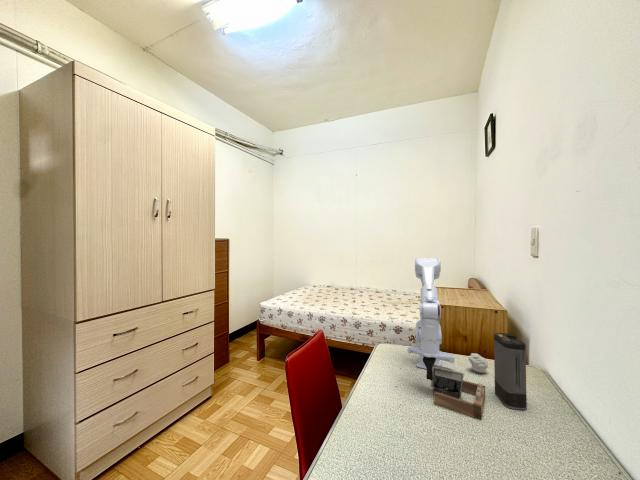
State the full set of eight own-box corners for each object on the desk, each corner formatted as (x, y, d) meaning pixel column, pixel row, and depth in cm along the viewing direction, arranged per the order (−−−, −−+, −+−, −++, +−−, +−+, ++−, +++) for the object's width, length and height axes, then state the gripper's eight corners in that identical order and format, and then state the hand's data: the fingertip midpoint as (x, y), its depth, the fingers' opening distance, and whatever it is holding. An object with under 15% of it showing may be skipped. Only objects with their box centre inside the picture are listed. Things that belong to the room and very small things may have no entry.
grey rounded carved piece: (465, 368, 105) (464, 350, 105) (482, 368, 104) (482, 350, 104) (473, 375, 99) (473, 357, 99) (492, 376, 98) (492, 357, 98)
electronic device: (529, 411, 77) (528, 343, 78) (506, 408, 79) (505, 342, 79) (512, 393, 87) (511, 333, 87) (492, 391, 88) (492, 332, 88)
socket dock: (443, 384, 92) (443, 369, 92) (485, 396, 85) (485, 379, 85) (434, 404, 81) (434, 386, 81) (481, 420, 74) (481, 400, 74)
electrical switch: (461, 394, 86) (463, 368, 85) (462, 405, 82) (465, 377, 80) (430, 386, 90) (432, 361, 89) (430, 396, 85) (432, 370, 84)
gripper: (404, 336, 89) (404, 376, 89) (451, 346, 81) (451, 391, 80) (411, 331, 95) (411, 369, 95) (455, 340, 86) (455, 381, 86)
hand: (430, 378), depth 88 cm, fingers closed, pressing on electrical switch
